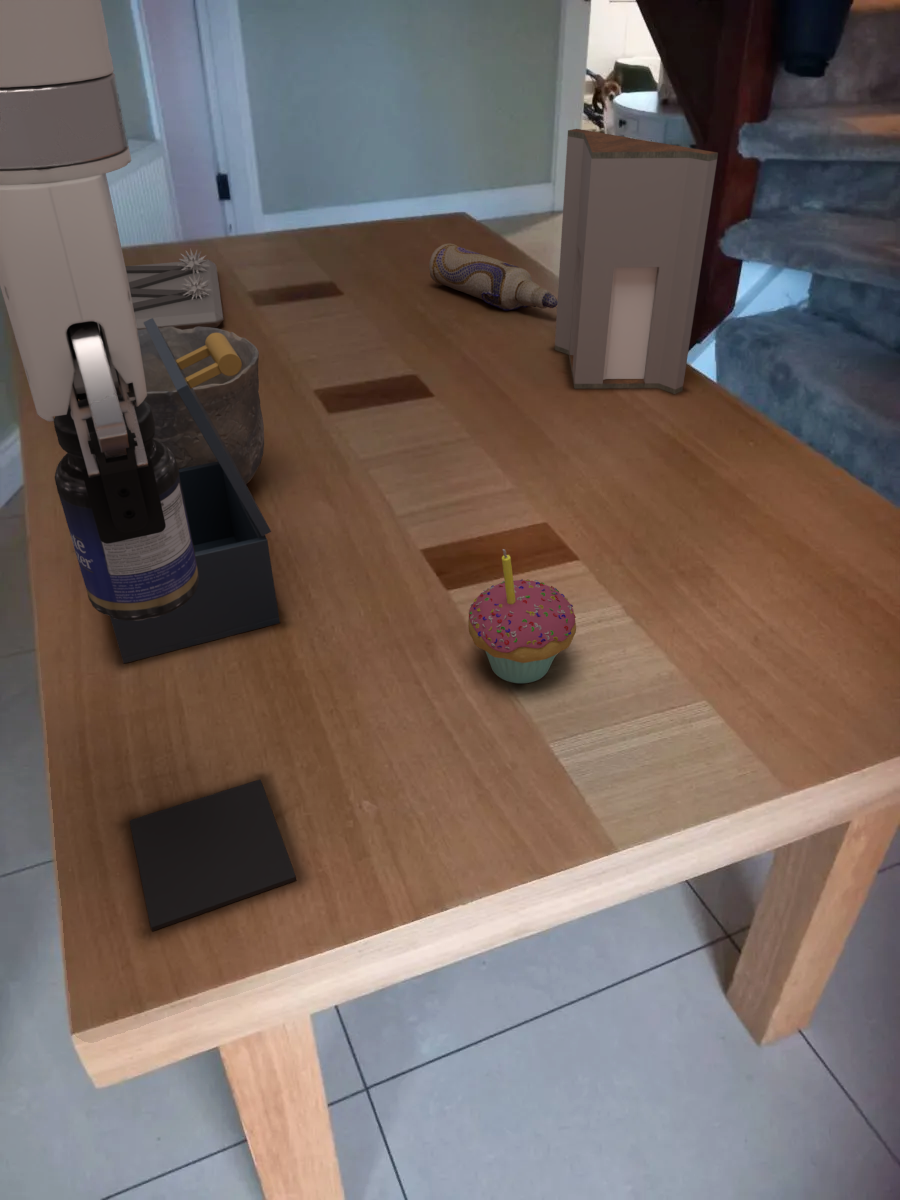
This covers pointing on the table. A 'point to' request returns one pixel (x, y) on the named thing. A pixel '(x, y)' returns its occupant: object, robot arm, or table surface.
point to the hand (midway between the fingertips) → (123, 501)
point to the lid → (224, 364)
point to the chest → (211, 574)
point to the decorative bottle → (487, 279)
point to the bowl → (206, 401)
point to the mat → (209, 853)
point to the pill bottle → (135, 566)
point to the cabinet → (630, 259)
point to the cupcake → (521, 626)
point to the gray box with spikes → (176, 293)
